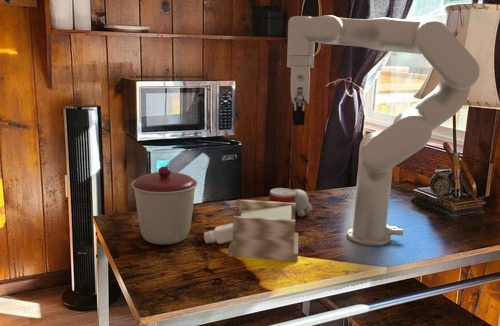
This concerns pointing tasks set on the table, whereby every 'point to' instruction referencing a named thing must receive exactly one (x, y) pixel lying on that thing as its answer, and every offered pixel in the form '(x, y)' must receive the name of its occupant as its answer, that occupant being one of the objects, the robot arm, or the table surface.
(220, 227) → the pepper shaker
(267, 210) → the trapdoor
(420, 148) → the robot arm
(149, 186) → the canister
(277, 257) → the stand
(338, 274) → the table surface
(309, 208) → the chubby cartoon animal
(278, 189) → the canned food
